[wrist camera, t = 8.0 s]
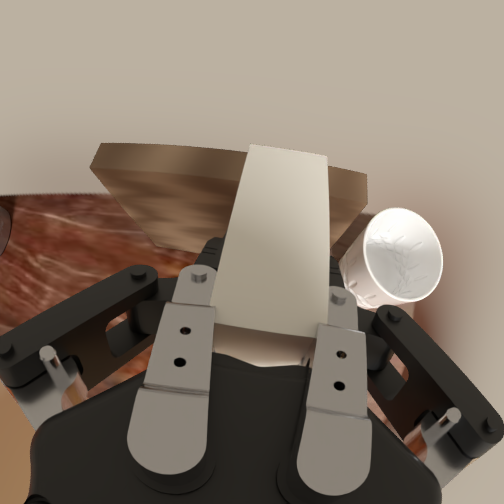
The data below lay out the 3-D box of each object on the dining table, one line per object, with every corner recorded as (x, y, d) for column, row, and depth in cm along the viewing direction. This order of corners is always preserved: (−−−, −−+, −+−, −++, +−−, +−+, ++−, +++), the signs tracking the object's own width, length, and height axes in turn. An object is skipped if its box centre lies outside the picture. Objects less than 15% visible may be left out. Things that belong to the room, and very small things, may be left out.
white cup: (380, 325, 29) (431, 316, 19) (318, 296, 30) (349, 276, 20) (400, 262, 31) (449, 233, 21) (343, 233, 32) (377, 191, 22)
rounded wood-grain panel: (137, 334, 28) (42, 323, 13) (161, 229, 32) (101, 143, 16) (298, 365, 27) (353, 391, 12) (313, 253, 31) (368, 174, 16)
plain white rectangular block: (224, 379, 17) (205, 320, 7) (242, 282, 21) (250, 143, 11) (271, 386, 17) (326, 338, 7) (284, 289, 21) (327, 156, 10)
